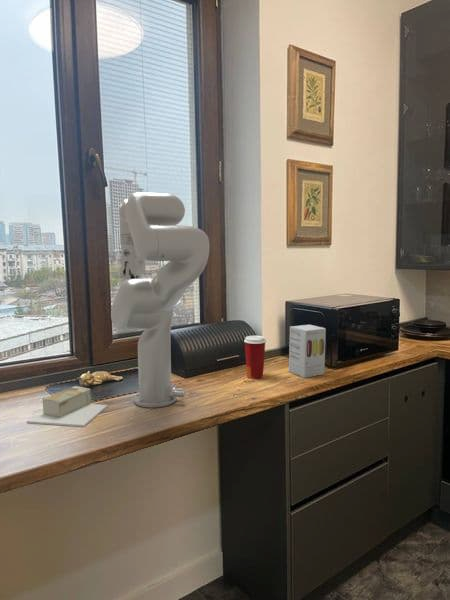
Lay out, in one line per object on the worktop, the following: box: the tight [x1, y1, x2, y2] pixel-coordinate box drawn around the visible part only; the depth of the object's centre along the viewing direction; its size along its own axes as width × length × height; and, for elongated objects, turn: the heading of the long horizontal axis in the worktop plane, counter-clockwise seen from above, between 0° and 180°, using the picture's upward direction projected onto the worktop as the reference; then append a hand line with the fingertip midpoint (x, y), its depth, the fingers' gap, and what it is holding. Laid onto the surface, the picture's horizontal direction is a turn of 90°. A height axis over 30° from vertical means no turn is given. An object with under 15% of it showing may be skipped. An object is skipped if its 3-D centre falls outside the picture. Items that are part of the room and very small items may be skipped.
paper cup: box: [243, 335, 267, 380], centre depth 152 cm, size 8×8×14 cm
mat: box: [26, 403, 108, 428], centre depth 119 cm, size 16×14×1 cm
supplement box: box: [288, 324, 327, 379], centre depth 156 cm, size 10×9×17 cm
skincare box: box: [42, 385, 92, 417], centre depth 122 cm, size 6×4×12 cm
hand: (133, 296), depth 144 cm, fingers closed
